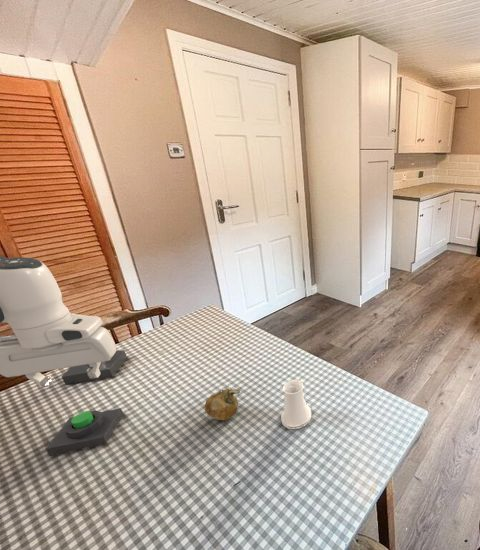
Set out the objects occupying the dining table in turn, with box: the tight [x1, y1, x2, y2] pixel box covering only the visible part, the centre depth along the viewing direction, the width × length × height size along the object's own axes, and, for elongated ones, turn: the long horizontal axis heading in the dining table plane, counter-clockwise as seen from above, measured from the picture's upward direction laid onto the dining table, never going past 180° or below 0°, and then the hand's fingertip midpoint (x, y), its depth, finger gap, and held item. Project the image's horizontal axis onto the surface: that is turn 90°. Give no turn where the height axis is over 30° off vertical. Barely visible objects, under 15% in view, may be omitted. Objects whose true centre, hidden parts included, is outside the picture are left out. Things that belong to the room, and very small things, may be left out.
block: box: [45, 407, 124, 456], centre depth 73 cm, size 11×9×4 cm
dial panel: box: [61, 349, 128, 386], centre depth 94 cm, size 12×10×3 cm
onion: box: [204, 387, 242, 421], centre depth 77 cm, size 8×8×8 cm
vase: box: [280, 379, 312, 430], centre depth 76 cm, size 8×8×10 cm
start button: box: [71, 410, 94, 429], centre depth 72 cm, size 4×4×2 cm
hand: (71, 380), depth 71 cm, fingers open, 8 cm apart
